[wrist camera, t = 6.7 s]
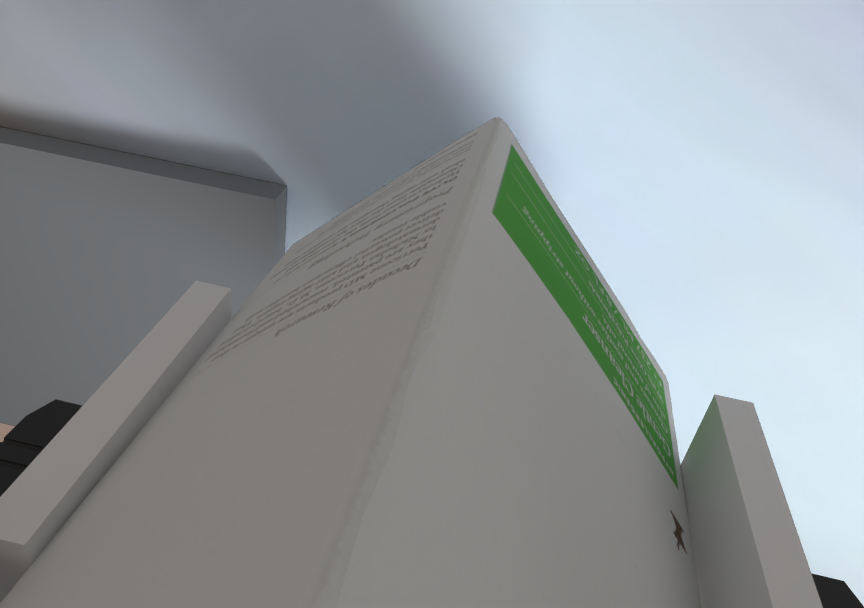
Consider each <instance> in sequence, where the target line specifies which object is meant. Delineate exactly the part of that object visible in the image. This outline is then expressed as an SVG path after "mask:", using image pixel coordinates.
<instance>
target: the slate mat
mask: <svg viewBox="0 0 864 608" xmlns="http://www.w3.org/2000/svg"><path fill="white" fill-rule="evenodd" d="M286 197H287V186H285V185H280V184H275V183H270V182H265V181H260V180H256V179H251V178H246V177H241V176H236V175H231V174H226V173H222V172H217V171H212V170H207V169H202V168H197V167H193V166H188V165H183V164H178V163H173V162H168V161H163V160H159V159H154V158H149V157H144V156H139V155H134V154H130V153H125V152H120V151H115V150H110V149H105V148H100V147H96V146H91V145H86V144H81V143H76V142H71V141H67V140H62V139H57V138H52V137H47V136H42V135H37V134H33V133H28V132H23V131H18V130H13V129H8V128H4V127H0V423H3V424H8V425H12V426H16V425H17V424H18V423H19V422H20V421H21V420H22V419H23V418H24V417H25V416H26V415H28V414H30V413H32V412H34V411H36V410H37V409H39V408H41V407H43V406H45V405H46V404H48V403H50V402H52V401H54V400H55V399H57V400H61V401H66V402H70V403H74V404H78V405H84V404H85V403H86V402H87V401H88V399H89V398H90V397H91V396H92V395H93V394H94V393H95V392H96V391H97V389H98V388H99V387H100V386H101V385H102V384H103V383H104V382H105V381H106V380H107V378H108V377H109V376H110V375H111V374H112V373H113V372H114V371H115V370H116V368H117V367H118V366H119V365H120V364H121V363H122V362H123V361H124V360H125V359H126V357H127V356H128V355H129V354H130V353H131V352H132V351H133V350H134V349H135V347H136V346H137V345H138V344H139V343H140V342H141V341H142V340H143V339H144V338H145V336H146V335H147V334H148V333H149V332H150V331H151V330H152V329H153V328H154V326H155V325H156V324H157V323H158V322H159V321H160V320H161V319H162V318H163V317H164V315H165V314H166V313H167V312H168V311H169V310H170V309H171V308H172V307H173V305H174V304H175V303H176V302H177V301H178V300H179V299H180V298H181V297H182V296H183V294H184V293H185V292H186V291H187V290H188V289H189V288H190V287H191V286H192V284H193V283H194V282H195V281H200V282H205V283H209V284H214V285H218V286H223V287H228V288H231V318H232V317H233V316H234V315H235V313H236V312H237V311H238V310H239V309H240V308H241V306H242V305H243V304H244V303H245V302H246V300H247V299H248V298H249V297H250V295H251V294H252V293H253V292H254V290H255V289H256V288H257V287H258V286H259V284H260V283H261V282H262V281H263V280H264V278H265V277H266V276H267V275H268V274H269V272H270V271H271V270H272V269H273V268H274V266H275V265H276V264H277V263H278V262H279V261H280V259H281V258H282V257H283V256H284V255H285V228H286Z"/></svg>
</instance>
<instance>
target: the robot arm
mask: <svg viewBox="0 0 864 608" xmlns="http://www.w3.org/2000/svg"><path fill="white" fill-rule="evenodd" d="M230 320H231V288H228V287H223V286H218V285H214V284H209V283H205V282H200V281H195V282H194V283H193V284H192V286H191V287H190V288H189V289H188V290H187V291H186V292H185V293H184V294H183V296H182V297H181V298H180V299H179V300H178V301H177V302H176V303H175V304H174V305H173V307H172V308H171V309H170V310H169V311H168V312H167V313H166V314H165V315H164V317H163V318H162V319H161V320H160V321H159V322H158V323H157V324H156V325H155V326H154V328H153V329H152V330H151V331H150V332H149V333H148V334H147V335H146V336H145V338H144V339H143V340H142V341H141V342H140V343H139V344H138V345H137V346H136V347H135V349H134V350H133V351H132V352H131V353H130V354H129V355H128V356H127V357H126V359H125V360H124V361H123V362H122V363H121V364H120V365H119V366H118V367H117V368H116V370H115V371H114V372H113V373H112V374H111V375H110V376H109V377H108V378H107V380H106V381H105V382H104V383H103V384H102V385H101V386H100V387H99V388H98V389H97V391H96V392H95V393H94V394H93V395H92V396H91V397H90V398H89V399H88V401H87V402H86V403H85V404H84V405H78V404H74V403H70V402H66V401H61V400H57V399H55V400H54V401H52V402H50V403H48V404H46V405H45V406H43V407H41V408H39V409H37V410H36V411H34V412H32V413H30V414H28V415H26V416H25V417H24V418H23V419H22V420H21V421H20V422H19V423H18V424H17V425H16V426H15V427H14V429H12V430H11V431H10V432H9V433H8V434H7V435H6V436H5V437H4V441H3V442H0V603H1V602H2V600H3V599H4V598H5V597H6V595H7V594H8V593H9V592H10V590H11V589H12V588H13V587H14V585H15V584H16V583H17V582H18V580H19V579H20V578H21V577H22V575H23V574H24V573H25V572H26V570H27V569H28V568H29V567H30V566H31V564H32V563H33V562H34V561H35V559H36V558H37V557H38V556H39V554H40V553H41V552H42V551H43V549H44V548H45V547H46V546H47V545H48V543H49V542H50V541H51V540H52V538H53V537H54V536H55V535H56V534H57V532H58V531H59V530H60V529H61V527H62V526H63V525H64V524H65V523H66V521H67V520H68V519H69V518H70V516H71V515H72V514H73V513H74V512H75V510H76V509H77V508H78V507H79V505H80V504H81V503H82V502H83V501H84V499H85V498H86V497H87V496H88V495H89V493H90V492H91V491H92V490H93V488H94V487H95V486H96V485H97V484H98V482H99V481H100V480H101V479H102V477H103V476H104V475H105V474H106V473H107V471H108V470H109V469H110V468H111V467H112V465H113V464H114V463H115V462H116V460H117V459H118V458H119V457H120V456H121V454H122V453H123V452H124V451H125V450H126V448H127V447H128V446H129V445H130V443H131V442H132V441H133V440H134V439H135V437H136V436H137V435H138V433H139V432H140V431H141V429H142V428H143V427H144V426H145V424H146V423H147V422H148V421H149V419H150V418H151V417H152V416H153V415H154V413H155V412H156V411H157V410H158V408H159V407H160V406H161V405H162V404H163V402H164V401H165V400H166V399H167V397H168V396H169V395H170V394H171V393H172V391H173V390H174V389H175V388H176V387H177V385H178V384H179V383H180V382H181V380H182V379H183V378H184V377H185V375H186V374H187V373H188V372H189V370H190V369H191V368H192V367H193V366H194V364H195V363H196V362H197V361H198V359H199V358H200V357H201V356H202V354H203V353H204V352H205V351H206V349H207V348H208V347H209V346H210V344H211V343H212V342H213V341H214V339H215V338H216V337H217V336H218V334H219V333H220V332H221V331H222V329H223V328H224V327H225V326H226V324H227V323H228V322H229V321H230ZM681 473H682V480H683V487H684V493H685V499H686V504H687V511H688V519H689V526H690V533H691V540H692V547H693V553H694V560H695V566H696V573H697V580H698V586H699V593H700V599H701V606H702V608H864V607H863V605H862V604H861V603H860V601H859V600H858V599H857V597H856V596H855V595H854V594H853V592H852V591H851V590H850V588H849V587H848V586H847V585H846V583H845V582H844V581H841V580H837V579H832V578H828V577H824V576H820V575H815V574H811V571H810V568H809V565H808V562H807V560H806V557H805V554H804V551H803V548H802V545H801V542H800V539H799V536H798V533H797V530H796V527H795V524H794V521H793V518H792V516H791V513H790V510H789V507H788V504H787V501H786V498H785V495H784V492H783V489H782V486H781V483H780V480H779V477H778V475H777V472H776V469H775V466H774V463H773V460H772V457H771V454H770V451H769V448H768V445H767V442H766V439H765V436H764V433H763V431H762V428H761V425H760V422H759V419H758V416H757V413H756V410H755V407H754V404H753V403H751V402H747V401H742V400H737V399H733V398H728V397H724V396H719V395H714V397H713V399H712V401H711V403H710V405H709V407H708V409H707V412H706V414H705V416H704V418H703V420H702V422H701V424H700V426H699V428H698V430H697V432H696V434H695V436H694V439H693V441H692V443H691V445H690V447H689V449H688V451H687V453H686V455H685V457H684V459H683V461H682V463H681Z"/></svg>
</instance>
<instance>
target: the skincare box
mask: <svg viewBox="0 0 864 608" xmlns="http://www.w3.org/2000/svg"><path fill="white" fill-rule="evenodd" d="M0 608H702V606H701V599H700V593H699V586H698V580H697V573H696V566H695V560H694V553H693V547H692V540H691V533H690V526H689V519H688V511H687V504H686V499H685V493H684V487H683V480H682V473H681V465H680V459H679V453H678V445H677V439H676V432H675V426H674V420H673V414H672V404H671V398H670V392H669V385H668V381H667V378H666V376H665V374H664V373H663V371H662V370H661V368H660V366H659V365H658V363H657V362H656V360H655V358H654V357H653V355H652V354H651V352H650V351H649V349H648V348H647V347H646V345H645V344H644V342H643V341H642V339H641V338H640V336H639V334H638V332H637V331H636V329H635V327H634V325H633V324H632V322H631V320H630V318H629V317H628V315H627V313H626V311H625V310H624V308H623V306H622V305H621V303H620V302H619V300H618V299H617V297H616V296H615V294H614V293H613V291H612V289H611V288H610V286H609V285H608V283H607V282H606V280H605V279H604V277H603V275H602V274H601V272H600V271H599V269H598V268H597V266H596V265H595V263H594V262H593V260H592V258H591V257H590V255H589V254H588V252H587V251H586V249H585V248H584V246H583V245H582V243H581V241H580V240H579V238H578V237H577V235H576V234H575V232H574V231H573V229H572V228H571V226H570V224H569V223H568V221H567V220H566V218H565V217H564V215H563V214H562V212H561V211H560V209H559V207H558V206H557V204H556V203H555V201H554V200H553V198H552V197H551V195H550V193H549V192H548V190H547V188H546V187H545V185H544V184H543V182H542V180H541V179H540V177H539V175H538V174H537V172H536V170H535V169H534V167H533V166H532V164H531V162H530V161H529V159H528V157H527V156H526V154H525V152H524V151H523V149H522V148H521V146H520V144H519V143H518V141H517V139H516V138H515V136H514V134H513V133H512V132H511V130H510V129H509V127H508V126H507V124H506V123H505V122H504V121H503V120H502V119H501V118H493V119H492V120H490V121H488V122H486V123H485V124H483V125H481V126H480V127H478V128H476V129H474V130H473V131H471V132H469V133H467V134H466V135H464V136H462V137H461V138H459V139H458V140H456V141H454V142H453V143H451V144H450V145H448V146H447V147H445V148H443V149H442V150H440V151H439V152H437V153H436V154H434V155H432V156H431V157H429V158H428V159H426V160H424V161H423V162H421V163H420V164H418V165H417V166H415V167H413V168H412V169H410V170H409V171H407V172H406V173H404V174H402V175H401V176H399V177H398V178H396V179H394V180H393V181H391V182H390V183H388V184H386V185H385V186H383V187H382V188H380V189H379V190H377V191H375V192H374V193H372V194H371V195H369V196H368V197H366V198H364V199H363V200H361V201H360V202H358V203H357V204H355V205H354V206H352V207H350V208H349V209H347V210H346V211H344V212H343V213H341V214H340V215H338V216H336V217H335V218H333V219H332V220H330V221H329V222H327V223H325V224H324V225H322V226H321V227H319V228H318V229H316V230H315V231H313V232H311V233H310V234H308V235H307V236H305V237H304V238H302V239H301V240H299V241H297V242H296V243H294V244H293V245H292V246H291V247H290V249H289V250H288V251H287V252H286V253H285V255H284V256H283V257H282V258H281V259H280V261H279V262H278V263H277V264H276V265H275V266H274V268H273V269H272V270H271V271H270V272H269V274H268V275H267V276H266V277H265V278H264V280H263V281H262V282H261V283H260V284H259V286H258V287H257V288H256V289H255V290H254V292H253V293H252V294H251V295H250V297H249V298H248V299H247V300H246V302H245V303H244V304H243V305H242V306H241V308H240V309H239V310H238V311H237V312H236V313H235V315H234V316H233V317H232V318H231V320H230V321H229V322H228V323H227V324H226V326H225V327H224V328H223V329H222V331H221V332H220V333H219V334H218V336H217V337H216V338H215V339H214V341H213V342H212V343H211V344H210V346H209V347H208V348H207V349H206V351H205V352H204V353H203V354H202V356H201V357H200V358H199V359H198V361H197V362H196V363H195V364H194V366H193V367H192V368H191V369H190V370H189V372H188V373H187V374H186V375H185V377H184V378H183V379H182V380H181V382H180V383H179V384H178V385H177V387H176V388H175V389H174V390H173V391H172V393H171V394H170V395H169V396H168V397H167V399H166V400H165V401H164V402H163V404H162V405H161V406H160V407H159V408H158V410H157V411H156V412H155V413H154V415H153V416H152V417H151V418H150V419H149V421H148V422H147V423H146V424H145V426H144V427H143V428H142V429H141V431H140V432H139V433H138V435H137V436H136V437H135V439H134V440H133V441H132V442H131V443H130V445H129V446H128V447H127V448H126V450H125V451H124V452H123V453H122V454H121V456H120V457H119V458H118V459H117V460H116V462H115V463H114V464H113V465H112V467H111V468H110V469H109V470H108V471H107V473H106V474H105V475H104V476H103V477H102V479H101V480H100V481H99V482H98V484H97V485H96V486H95V487H94V488H93V490H92V491H91V492H90V493H89V495H88V496H87V497H86V498H85V499H84V501H83V502H82V503H81V504H80V505H79V507H78V508H77V509H76V510H75V512H74V513H73V514H72V515H71V516H70V518H69V519H68V520H67V521H66V523H65V524H64V525H63V526H62V527H61V529H60V530H59V531H58V532H57V534H56V535H55V536H54V537H53V538H52V540H51V541H50V542H49V543H48V545H47V546H46V547H45V548H44V549H43V551H42V552H41V553H40V554H39V556H38V557H37V558H36V559H35V561H34V562H33V563H32V564H31V566H30V567H29V568H28V569H27V570H26V572H25V573H24V574H23V575H22V577H21V578H20V579H19V580H18V582H17V583H16V584H15V585H14V587H13V588H12V589H11V590H10V592H9V593H8V594H7V595H6V597H5V598H4V599H3V600H2V602H1V603H0Z"/></svg>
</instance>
